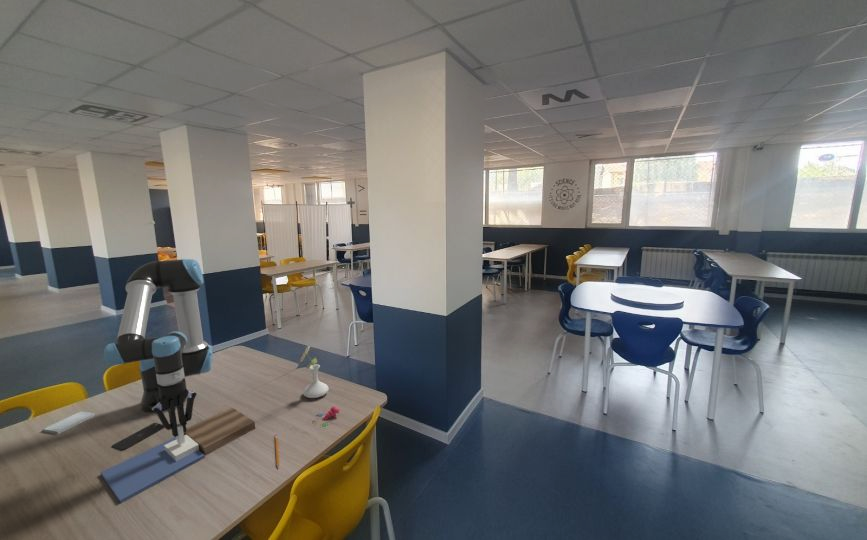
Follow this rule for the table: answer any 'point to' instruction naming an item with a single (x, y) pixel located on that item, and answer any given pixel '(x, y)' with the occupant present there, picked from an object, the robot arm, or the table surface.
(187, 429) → the brown board
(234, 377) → the table surface
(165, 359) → the robot arm
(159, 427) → the smartphone
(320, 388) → the flower in vase
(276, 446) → the pencil
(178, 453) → the tile
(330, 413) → the toy pieces
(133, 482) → the mat
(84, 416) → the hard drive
